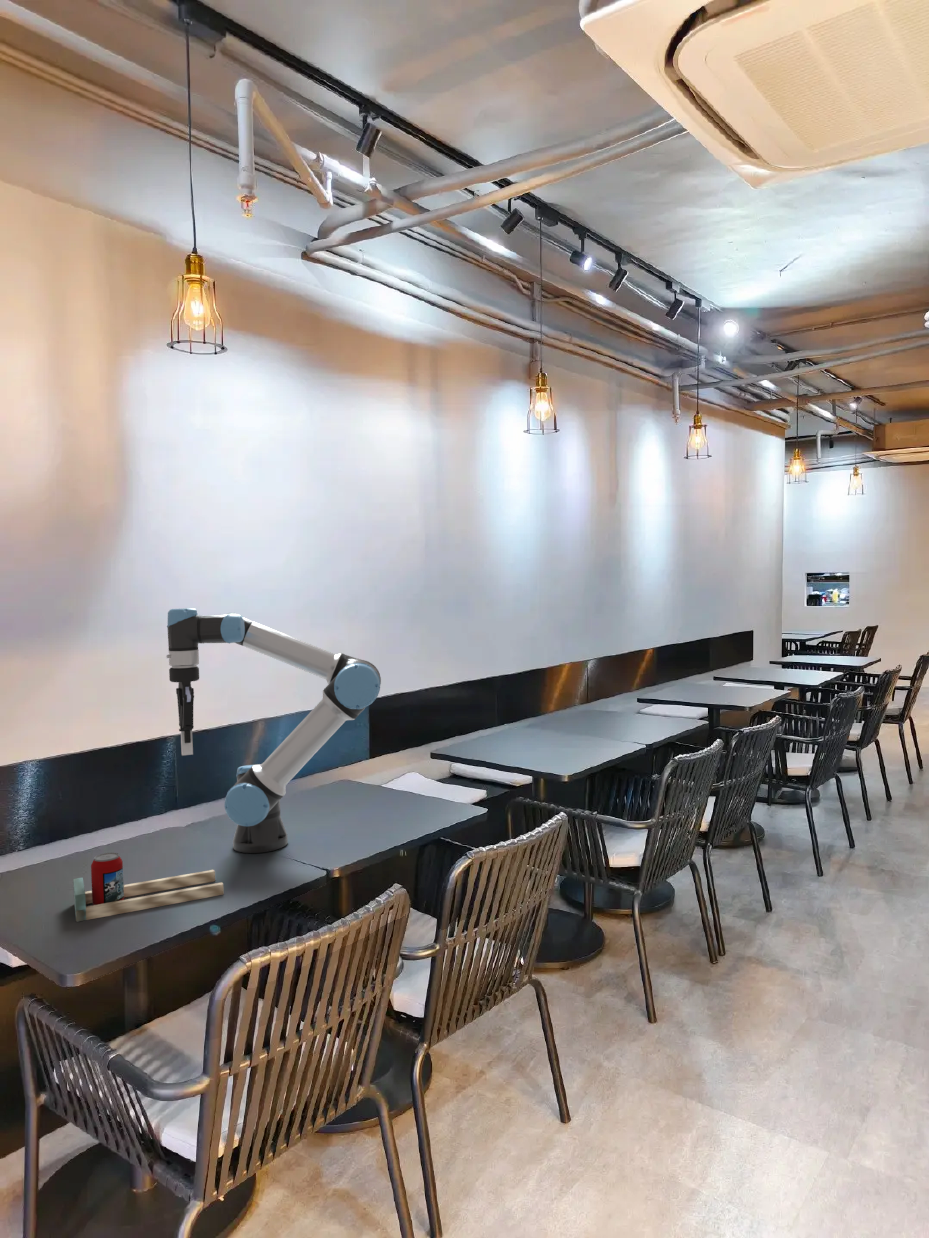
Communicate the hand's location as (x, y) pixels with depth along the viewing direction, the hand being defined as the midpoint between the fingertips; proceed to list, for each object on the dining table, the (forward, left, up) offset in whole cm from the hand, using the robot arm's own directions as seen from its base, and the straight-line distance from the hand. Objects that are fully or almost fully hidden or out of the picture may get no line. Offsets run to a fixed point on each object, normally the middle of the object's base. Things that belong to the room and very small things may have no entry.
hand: (187, 754), depth 221 cm
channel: (+13, +22, -29) cm, 39 cm away
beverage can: (+22, +23, -30) cm, 43 cm away
